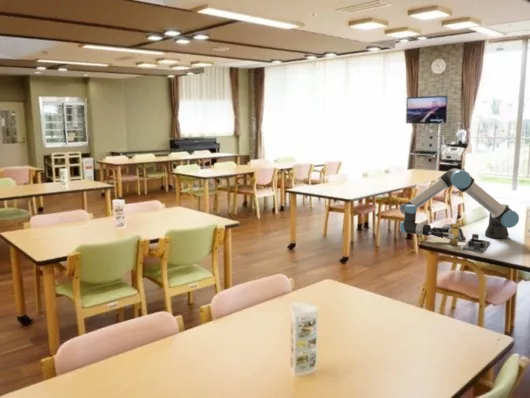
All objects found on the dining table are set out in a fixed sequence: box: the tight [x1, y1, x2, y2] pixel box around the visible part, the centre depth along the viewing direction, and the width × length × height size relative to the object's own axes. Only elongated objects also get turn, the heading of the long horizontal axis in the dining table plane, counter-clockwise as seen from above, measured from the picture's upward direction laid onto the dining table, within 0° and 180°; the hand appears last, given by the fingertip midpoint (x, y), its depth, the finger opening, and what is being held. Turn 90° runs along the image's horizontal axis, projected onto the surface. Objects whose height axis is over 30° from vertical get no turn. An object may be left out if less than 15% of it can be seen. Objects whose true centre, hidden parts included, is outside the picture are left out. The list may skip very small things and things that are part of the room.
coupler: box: [449, 223, 462, 247], centre depth 317 cm, size 6×6×14 cm
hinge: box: [441, 223, 466, 241], centre depth 338 cm, size 17×5×10 cm, turn 25°
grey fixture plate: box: [462, 233, 491, 253], centre depth 315 cm, size 27×12×5 cm, turn 147°
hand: (456, 234), depth 316 cm, fingers open, 13 cm apart
